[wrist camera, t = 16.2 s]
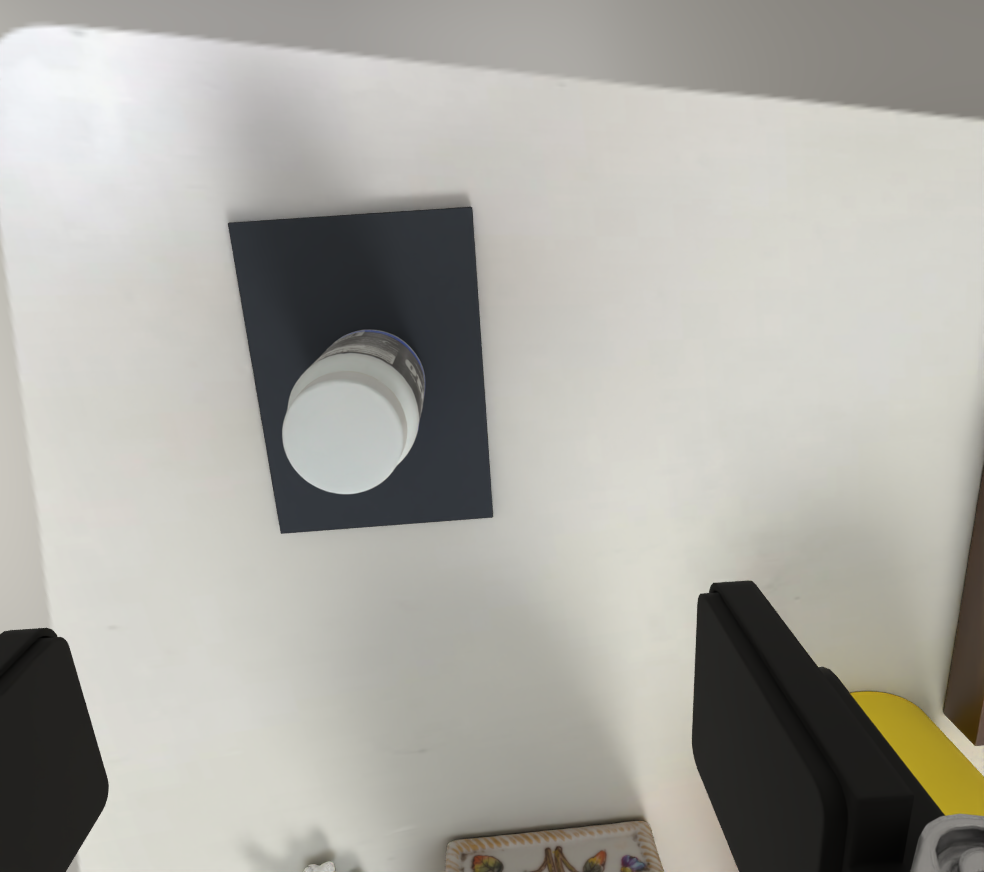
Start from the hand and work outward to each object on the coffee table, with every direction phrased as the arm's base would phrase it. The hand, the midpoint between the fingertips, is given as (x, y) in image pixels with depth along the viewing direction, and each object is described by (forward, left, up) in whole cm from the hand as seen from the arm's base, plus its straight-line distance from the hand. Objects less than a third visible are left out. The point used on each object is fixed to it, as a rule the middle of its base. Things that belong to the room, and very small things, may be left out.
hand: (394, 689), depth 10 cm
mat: (0, -3, -22) cm, 22 cm away
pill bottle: (0, -3, -22) cm, 22 cm away
